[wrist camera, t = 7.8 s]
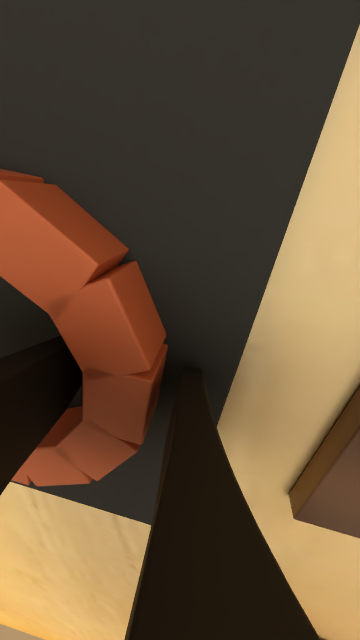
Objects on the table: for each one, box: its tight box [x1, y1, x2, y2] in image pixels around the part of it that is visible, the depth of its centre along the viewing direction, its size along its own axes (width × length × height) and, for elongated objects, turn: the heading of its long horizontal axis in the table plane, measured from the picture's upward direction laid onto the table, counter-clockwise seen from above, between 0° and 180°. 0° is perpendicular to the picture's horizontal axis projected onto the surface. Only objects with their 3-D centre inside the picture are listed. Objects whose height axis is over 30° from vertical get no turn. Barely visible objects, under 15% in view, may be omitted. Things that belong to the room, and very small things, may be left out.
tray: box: [0, 0, 360, 525], centre depth 10 cm, size 20×16×1 cm
